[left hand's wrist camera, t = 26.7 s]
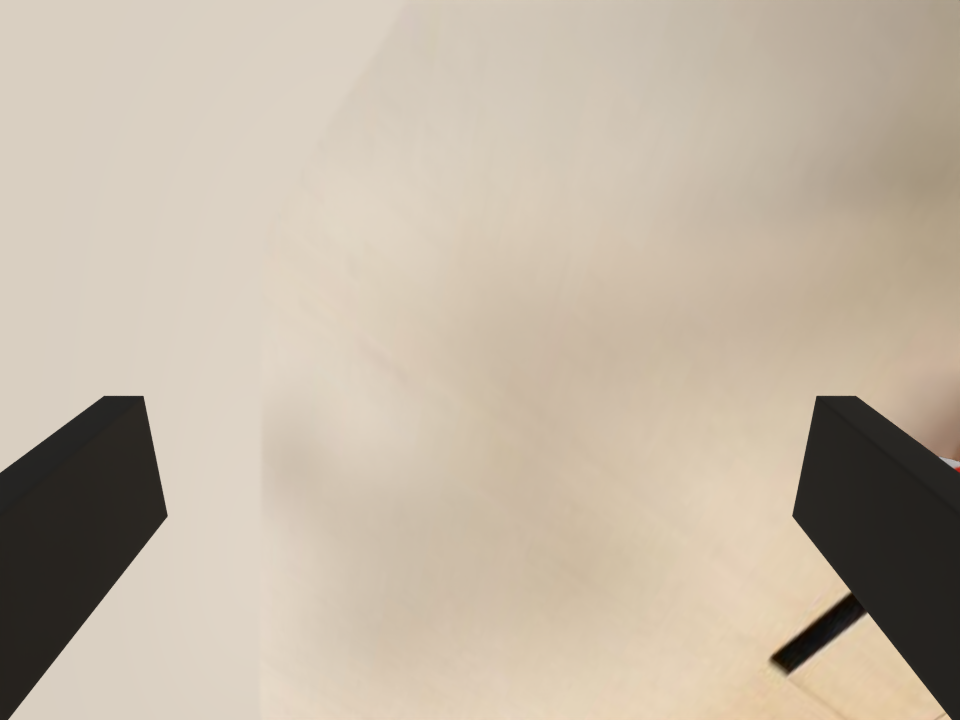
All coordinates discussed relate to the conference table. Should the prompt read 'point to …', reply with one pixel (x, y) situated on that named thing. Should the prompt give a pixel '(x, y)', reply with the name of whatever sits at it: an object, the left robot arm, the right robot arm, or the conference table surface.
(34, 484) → the left robot arm
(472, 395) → the conference table surface
